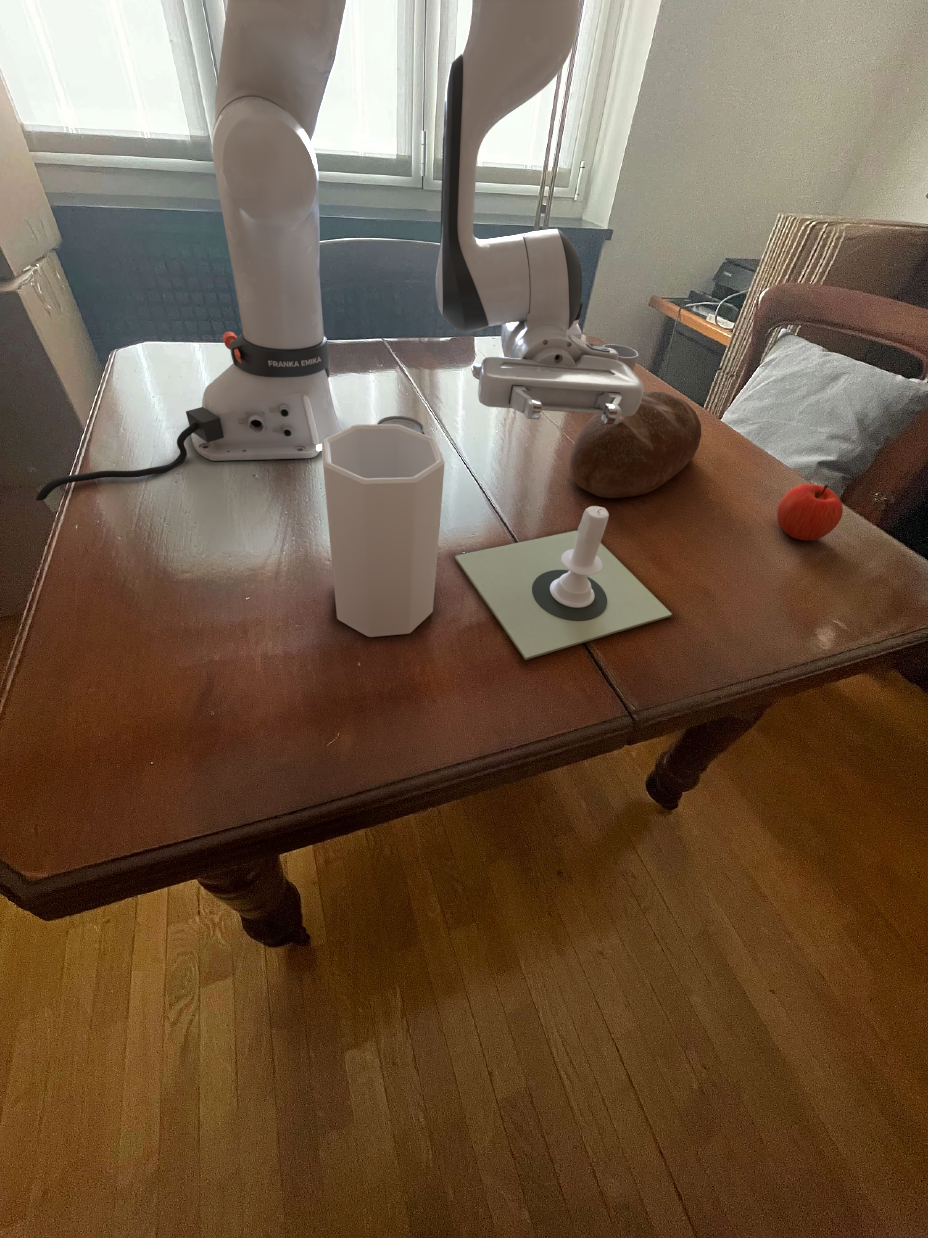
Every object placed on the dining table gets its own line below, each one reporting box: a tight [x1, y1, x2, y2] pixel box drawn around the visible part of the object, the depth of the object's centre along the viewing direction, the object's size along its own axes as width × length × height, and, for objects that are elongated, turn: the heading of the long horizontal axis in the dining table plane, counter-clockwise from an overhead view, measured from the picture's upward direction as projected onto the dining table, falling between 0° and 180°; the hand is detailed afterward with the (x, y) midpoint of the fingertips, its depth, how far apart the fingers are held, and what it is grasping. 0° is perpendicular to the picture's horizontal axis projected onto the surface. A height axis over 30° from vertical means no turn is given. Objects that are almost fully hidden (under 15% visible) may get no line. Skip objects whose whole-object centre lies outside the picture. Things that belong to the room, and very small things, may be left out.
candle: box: [550, 505, 610, 608], centre depth 60 cm, size 5×5×12 cm
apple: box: [776, 483, 844, 542], centre depth 78 cm, size 8×8×8 cm
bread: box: [568, 390, 702, 499], centre depth 86 cm, size 16×29×11 cm, turn 139°
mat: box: [454, 529, 673, 661], centre depth 66 cm, size 20×18×1 cm
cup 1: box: [321, 423, 446, 638], centre depth 54 cm, size 11×11×18 cm
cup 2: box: [602, 343, 639, 372], centre depth 108 cm, size 7×10×9 cm
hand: (574, 415), depth 62 cm, fingers open, 8 cm apart
